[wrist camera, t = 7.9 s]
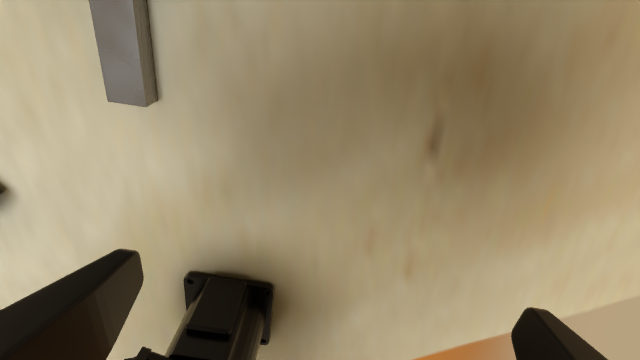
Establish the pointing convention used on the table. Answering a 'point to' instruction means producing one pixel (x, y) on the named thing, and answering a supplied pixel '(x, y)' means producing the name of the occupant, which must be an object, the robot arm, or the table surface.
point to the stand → (125, 50)
